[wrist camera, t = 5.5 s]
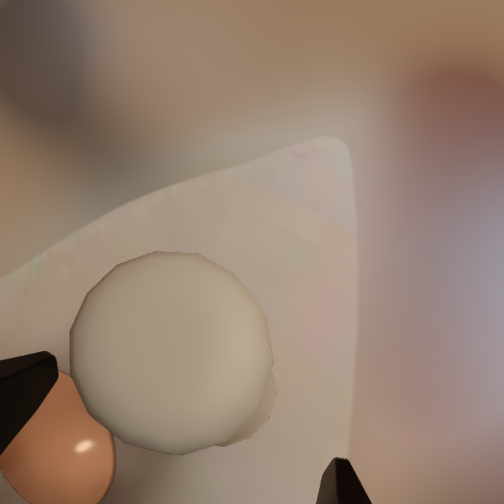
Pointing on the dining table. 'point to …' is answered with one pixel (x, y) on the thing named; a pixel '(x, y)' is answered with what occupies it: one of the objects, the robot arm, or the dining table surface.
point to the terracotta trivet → (61, 452)
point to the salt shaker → (173, 354)
